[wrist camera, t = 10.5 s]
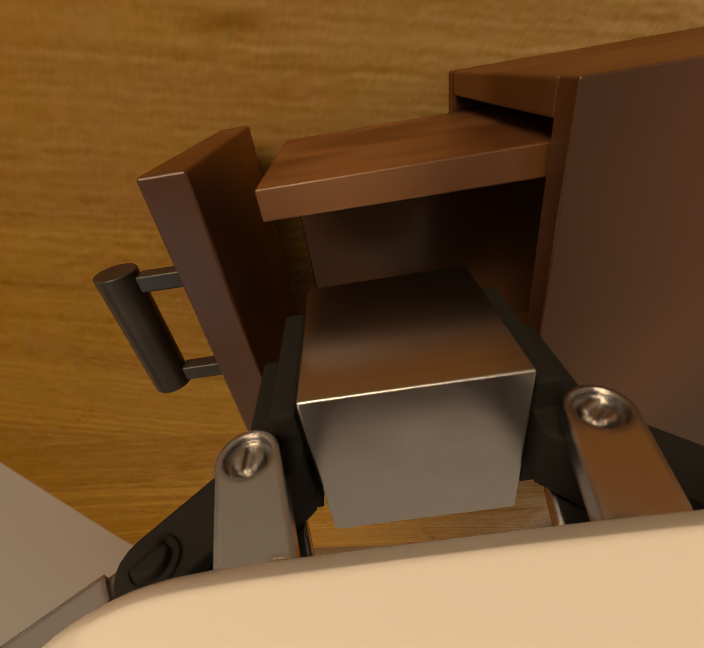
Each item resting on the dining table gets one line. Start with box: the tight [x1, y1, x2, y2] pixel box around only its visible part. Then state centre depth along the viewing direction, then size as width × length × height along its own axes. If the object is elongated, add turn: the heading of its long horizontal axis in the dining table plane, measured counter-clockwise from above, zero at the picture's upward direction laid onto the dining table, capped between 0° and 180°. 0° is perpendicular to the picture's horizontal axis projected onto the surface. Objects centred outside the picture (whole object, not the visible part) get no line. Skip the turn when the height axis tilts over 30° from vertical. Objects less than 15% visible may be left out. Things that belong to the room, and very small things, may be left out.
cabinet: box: [449, 27, 704, 480], centre depth 14 cm, size 15×13×10 cm
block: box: [296, 266, 536, 528], centre depth 10 cm, size 4×4×4 cm
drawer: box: [93, 105, 554, 432], centre depth 15 cm, size 18×11×8 cm, turn 98°
